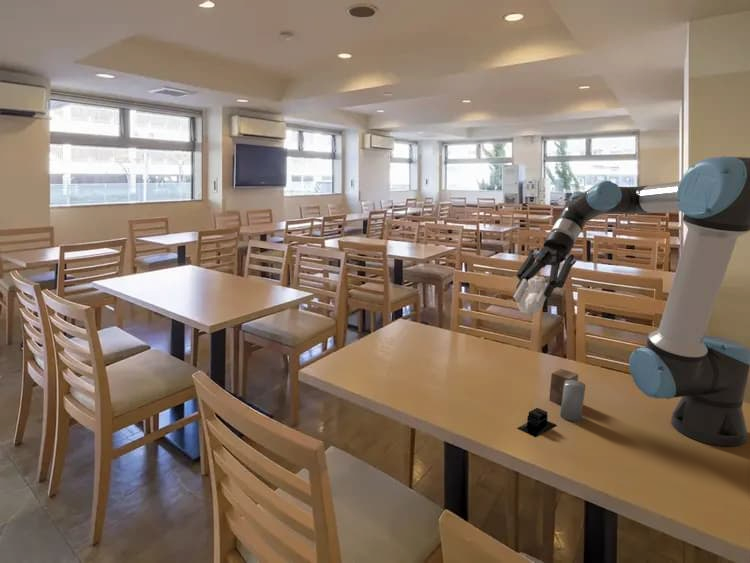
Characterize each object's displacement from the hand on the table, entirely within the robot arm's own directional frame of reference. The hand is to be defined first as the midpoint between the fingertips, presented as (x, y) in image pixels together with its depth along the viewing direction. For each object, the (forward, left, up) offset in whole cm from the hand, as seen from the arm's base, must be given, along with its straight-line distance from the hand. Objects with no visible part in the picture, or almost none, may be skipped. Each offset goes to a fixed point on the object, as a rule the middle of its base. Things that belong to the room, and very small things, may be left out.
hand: (526, 302), depth 133 cm
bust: (+1, -4, -4) cm, 5 cm away
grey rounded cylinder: (-17, +3, -26) cm, 31 cm away
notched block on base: (-14, +15, -27) cm, 34 cm away
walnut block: (-11, -4, -26) cm, 29 cm away
